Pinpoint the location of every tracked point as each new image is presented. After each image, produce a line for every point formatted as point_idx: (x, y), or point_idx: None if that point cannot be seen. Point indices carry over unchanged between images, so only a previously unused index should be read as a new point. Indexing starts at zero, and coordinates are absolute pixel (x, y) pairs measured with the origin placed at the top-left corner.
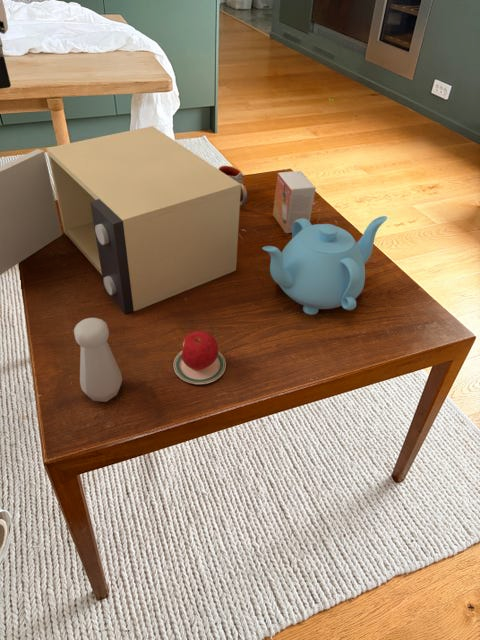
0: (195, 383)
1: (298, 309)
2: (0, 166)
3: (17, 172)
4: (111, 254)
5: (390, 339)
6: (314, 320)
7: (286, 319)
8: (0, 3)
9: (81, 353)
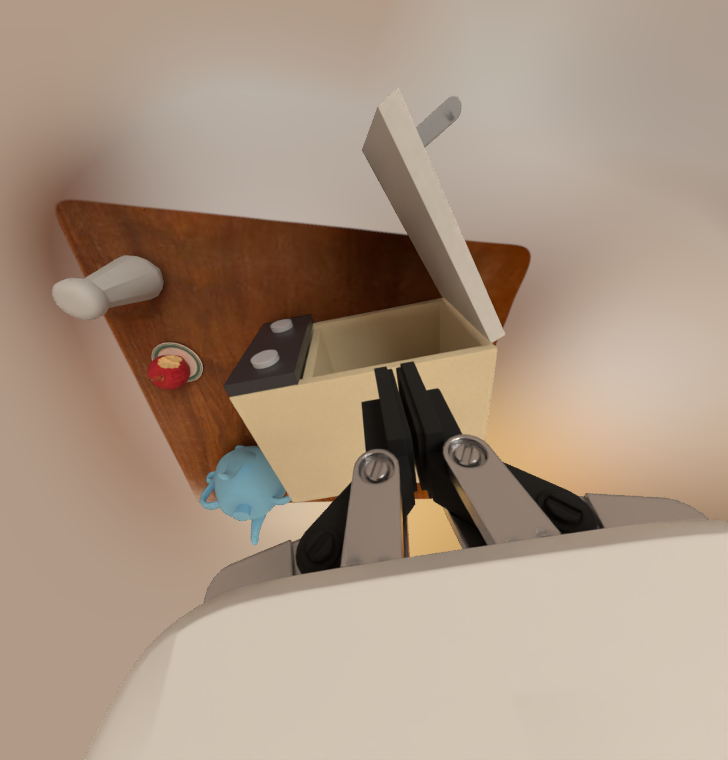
0: (152, 353)
1: (243, 443)
2: (472, 263)
3: (460, 286)
4: (259, 352)
5: (200, 474)
6: (228, 447)
7: (232, 433)
8: None
9: (98, 274)
